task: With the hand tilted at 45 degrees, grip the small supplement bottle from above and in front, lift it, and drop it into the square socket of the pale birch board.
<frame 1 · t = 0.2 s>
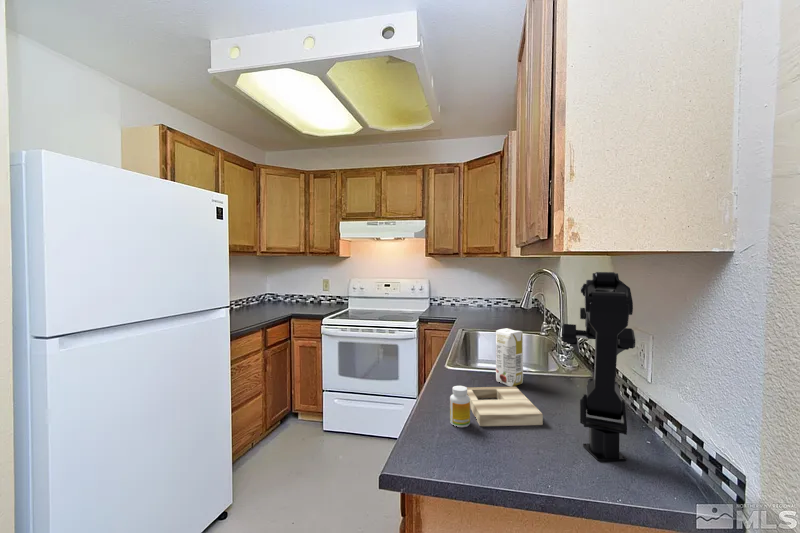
hand: (595, 355, 107), 15 cm above the worktop, tool tilted 35°, fingers open, 9 cm apart
supplement bottle: (460, 423, 95), on the worktop
socket board: (499, 409, 103), on the worktop
juice carton: (509, 383, 126), on the worktop
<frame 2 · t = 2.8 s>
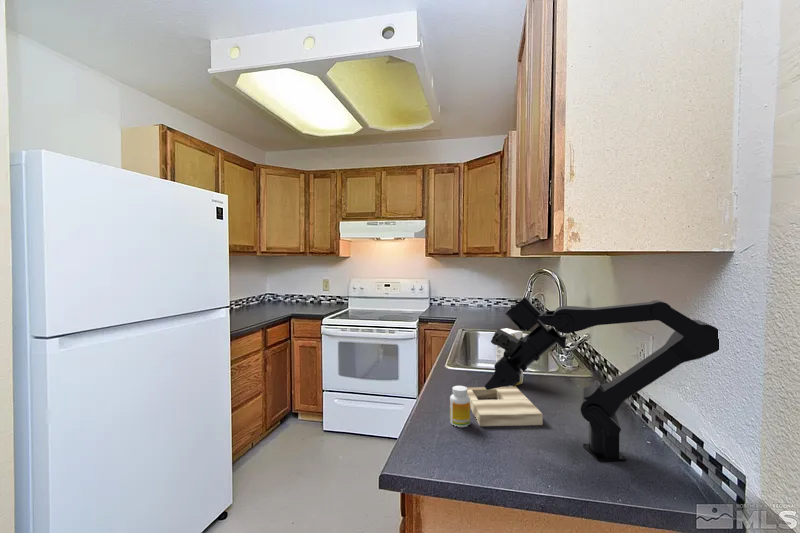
hand: (489, 382, 91), 13 cm above the worktop, tool tilted 45°, fingers open, 9 cm apart
nothing on the worktop moved.
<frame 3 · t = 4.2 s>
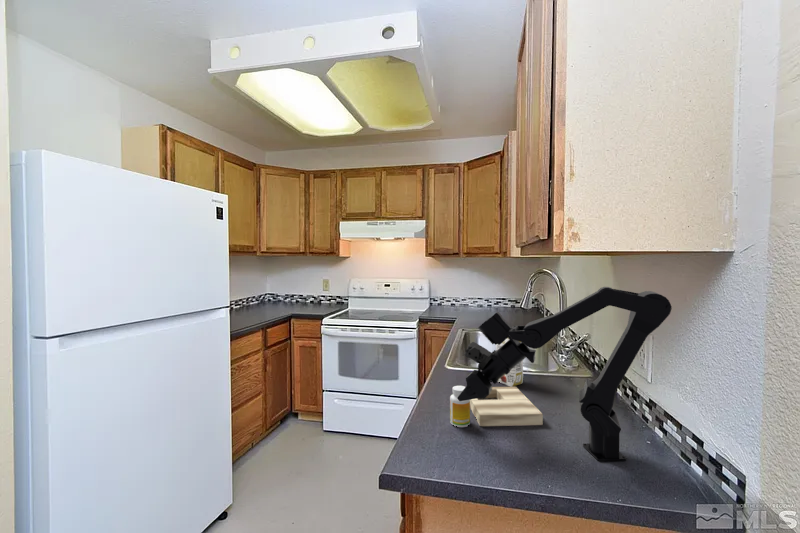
hand: (463, 393, 94), 8 cm above the worktop, tool tilted 45°, fingers open, 9 cm apart
nothing on the worktop moved.
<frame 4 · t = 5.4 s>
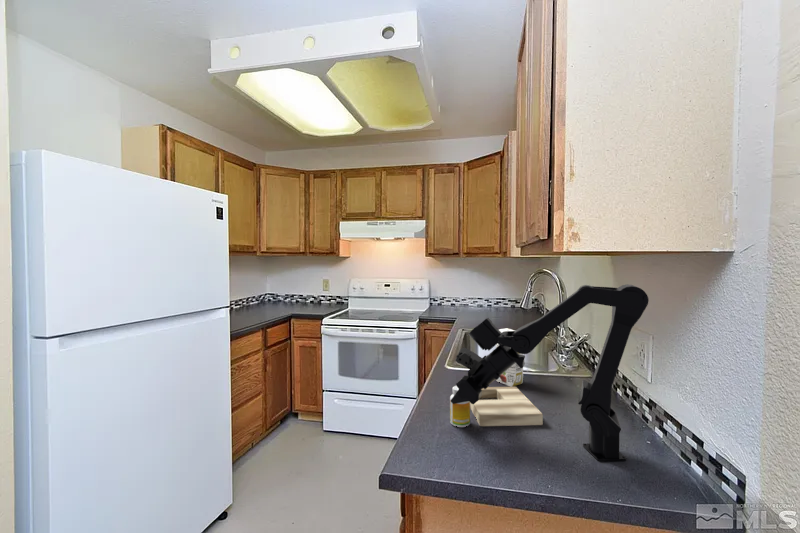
hand: (455, 398, 95), 7 cm above the worktop, tool tilted 45°, fingers closed on supplement bottle, 5 cm apart
supplement bottle: (460, 423, 95), on the worktop, touching gripper
everything else where it was.
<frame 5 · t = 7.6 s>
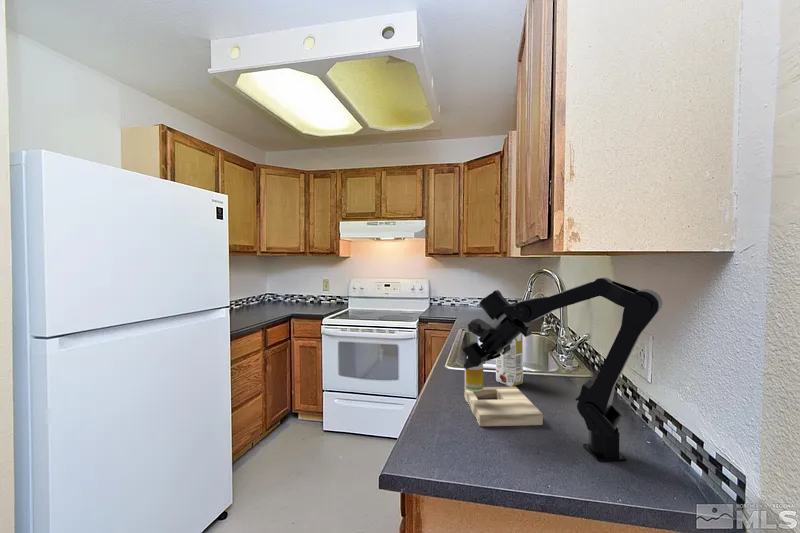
hand: (469, 365, 103), 13 cm above the worktop, tool tilted 45°, fingers closed on supplement bottle, 5 cm apart
supplement bottle: (474, 389, 102), point 6 cm above the worktop, touching gripper
everything else where it was.
when the fingers open (8 cm above the worktop, at t = 9.9 s): supplement bottle stays where it is, resting on socket board.
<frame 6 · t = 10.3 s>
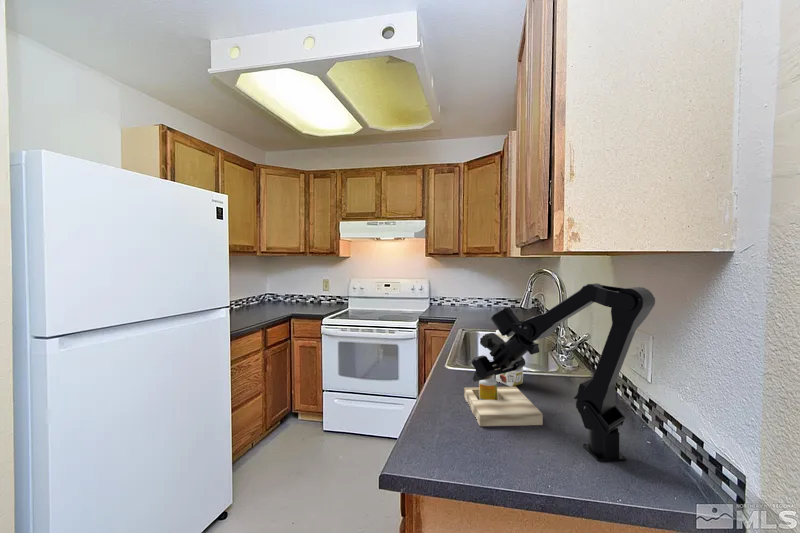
hand: (484, 376, 108), 8 cm above the worktop, tool tilted 45°, fingers open, 9 cm apart
supplement bottle: (488, 403, 107), resting on socket board
everything else where it was.
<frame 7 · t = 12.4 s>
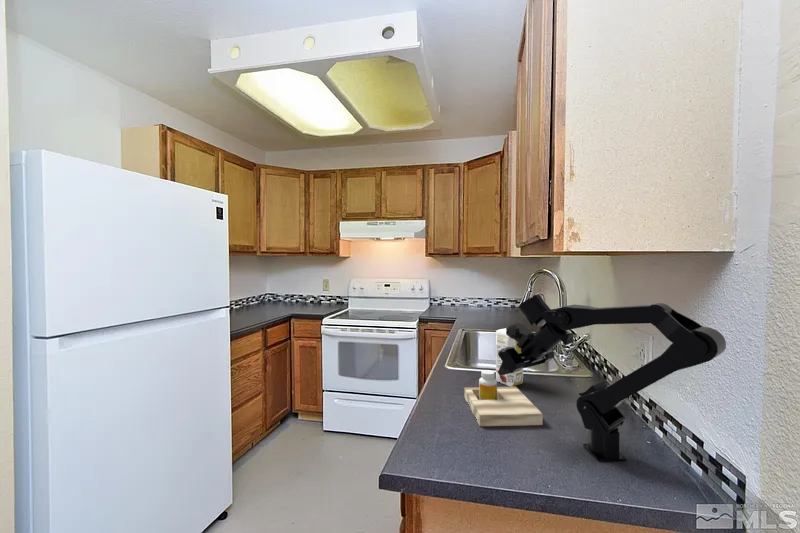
hand: (509, 370, 100), 13 cm above the worktop, tool tilted 45°, fingers open, 9 cm apart
nothing on the worktop moved.
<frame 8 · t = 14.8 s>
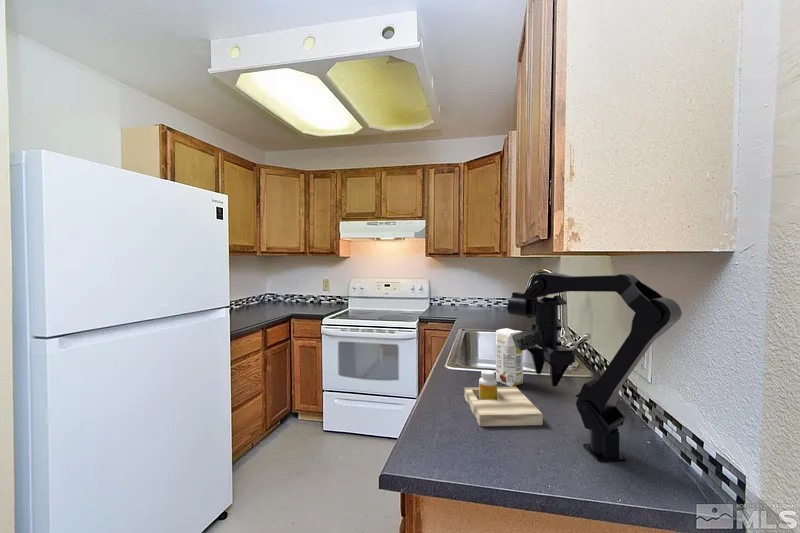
hand: (546, 379, 91), 13 cm above the worktop, tool pointing down, fingers open, 9 cm apart
nothing on the worktop moved.
at the end: supplement bottle 0.1 cm from the target spot on the socket board, point 0.1 cm above the socket board's base; supplement bottle tilted 0°; the gripper is holding nothing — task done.
